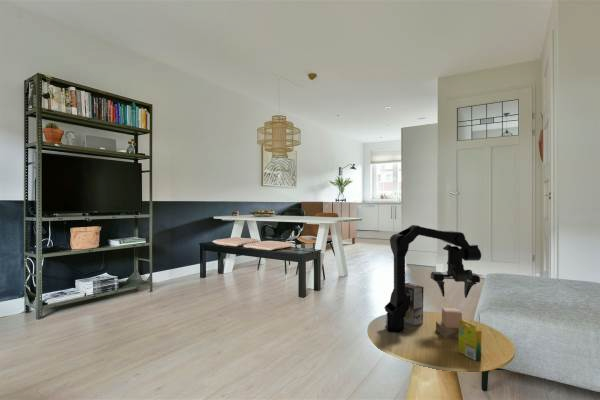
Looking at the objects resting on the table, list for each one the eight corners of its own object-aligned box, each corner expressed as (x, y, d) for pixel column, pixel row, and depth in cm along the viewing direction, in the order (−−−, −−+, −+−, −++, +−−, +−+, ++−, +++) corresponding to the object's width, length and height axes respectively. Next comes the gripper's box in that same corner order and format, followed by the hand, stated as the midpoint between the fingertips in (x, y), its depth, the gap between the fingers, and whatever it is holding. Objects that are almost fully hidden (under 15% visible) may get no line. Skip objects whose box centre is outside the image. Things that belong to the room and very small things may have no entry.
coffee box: (423, 323, 150) (424, 286, 150) (413, 325, 146) (414, 288, 146) (407, 317, 157) (408, 282, 157) (397, 319, 154) (398, 283, 154)
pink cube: (445, 327, 135) (446, 312, 135) (441, 322, 141) (441, 307, 141) (461, 328, 134) (461, 313, 134) (456, 323, 140) (457, 308, 140)
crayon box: (481, 359, 116) (482, 325, 116) (475, 361, 115) (475, 326, 115) (464, 350, 123) (464, 318, 123) (457, 351, 122) (458, 319, 122)
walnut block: (445, 340, 133) (445, 329, 133) (435, 331, 142) (435, 321, 142) (468, 340, 133) (468, 330, 133) (457, 331, 142) (457, 321, 142)
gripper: (438, 263, 138) (437, 301, 138) (486, 265, 136) (485, 303, 136) (430, 258, 149) (429, 294, 149) (474, 260, 147) (474, 296, 147)
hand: (454, 297), depth 145 cm, fingers open, 9 cm apart
